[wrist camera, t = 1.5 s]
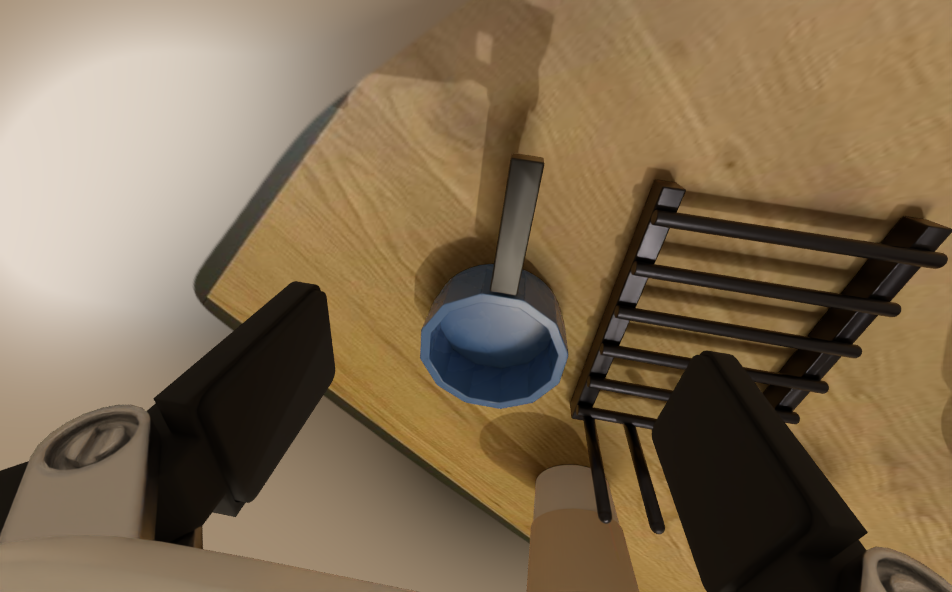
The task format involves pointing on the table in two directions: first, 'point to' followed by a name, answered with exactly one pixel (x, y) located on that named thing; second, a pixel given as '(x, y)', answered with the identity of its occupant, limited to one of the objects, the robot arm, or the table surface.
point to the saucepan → (499, 315)
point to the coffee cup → (575, 538)
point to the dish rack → (802, 372)
